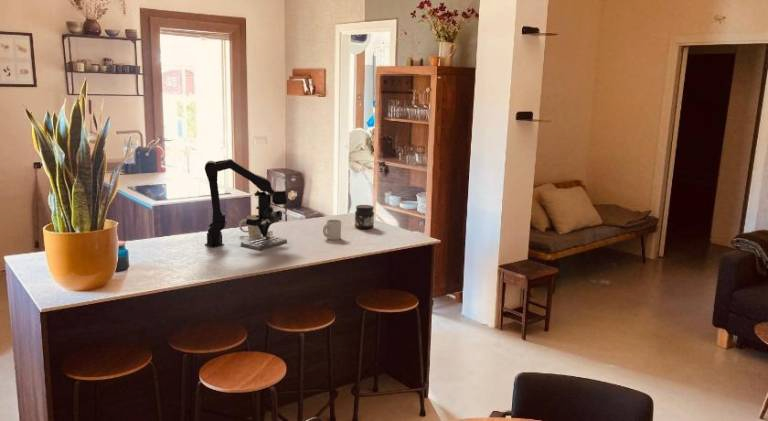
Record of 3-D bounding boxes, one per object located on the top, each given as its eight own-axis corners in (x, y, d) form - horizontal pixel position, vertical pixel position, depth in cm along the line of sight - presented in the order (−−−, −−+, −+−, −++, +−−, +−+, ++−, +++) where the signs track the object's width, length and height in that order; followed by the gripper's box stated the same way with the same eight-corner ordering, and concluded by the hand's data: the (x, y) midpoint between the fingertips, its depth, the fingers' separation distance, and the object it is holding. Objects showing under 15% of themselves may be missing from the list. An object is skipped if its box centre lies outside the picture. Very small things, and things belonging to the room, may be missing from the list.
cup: (343, 238, 307) (344, 221, 305) (326, 241, 301) (327, 223, 299) (335, 235, 313) (335, 219, 311) (319, 238, 306) (319, 221, 305)
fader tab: (269, 241, 291) (269, 231, 290) (263, 239, 293) (263, 230, 292) (272, 240, 292) (272, 231, 291) (265, 238, 295) (265, 229, 294)
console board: (259, 250, 280) (259, 245, 279) (240, 245, 286) (240, 241, 286) (286, 242, 296) (287, 238, 295) (268, 238, 302) (268, 234, 301)
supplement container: (353, 225, 337) (354, 204, 335) (371, 225, 339) (372, 204, 337) (355, 230, 327) (356, 208, 325) (375, 230, 329) (376, 208, 326)
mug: (261, 238, 300) (261, 219, 298) (236, 237, 301) (236, 217, 299) (265, 234, 309) (265, 215, 307) (240, 233, 309) (240, 214, 307)
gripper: (263, 210, 275) (262, 243, 278) (290, 204, 290) (290, 236, 294) (245, 206, 281) (245, 239, 284) (273, 201, 296) (273, 232, 299)
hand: (264, 236), depth 290 cm, fingers closed
